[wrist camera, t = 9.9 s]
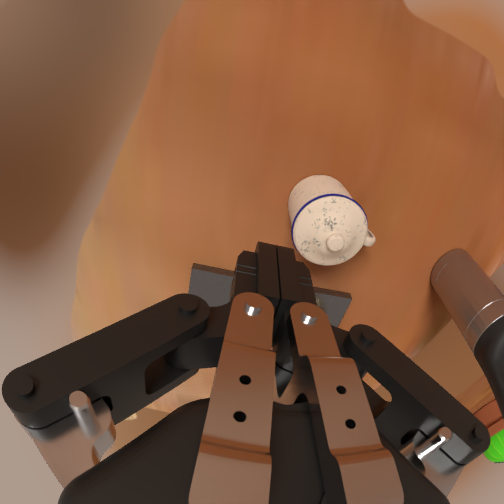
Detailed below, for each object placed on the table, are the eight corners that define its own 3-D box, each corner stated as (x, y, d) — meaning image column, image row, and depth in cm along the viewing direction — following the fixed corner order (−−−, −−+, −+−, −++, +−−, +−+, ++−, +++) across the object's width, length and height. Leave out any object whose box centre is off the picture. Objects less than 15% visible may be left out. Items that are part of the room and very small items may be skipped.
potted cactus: (508, 385, 72) (533, 439, 51) (511, 401, 80) (530, 447, 58) (459, 419, 80) (478, 474, 59) (468, 430, 88) (484, 477, 66)
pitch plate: (350, 293, 50) (360, 323, 44) (326, 338, 56) (333, 369, 49) (193, 263, 48) (183, 292, 41) (186, 314, 53) (178, 345, 47)
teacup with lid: (275, 219, 44) (280, 264, 34) (302, 161, 40) (317, 191, 30) (347, 247, 46) (369, 295, 36) (377, 196, 42) (410, 234, 32)
